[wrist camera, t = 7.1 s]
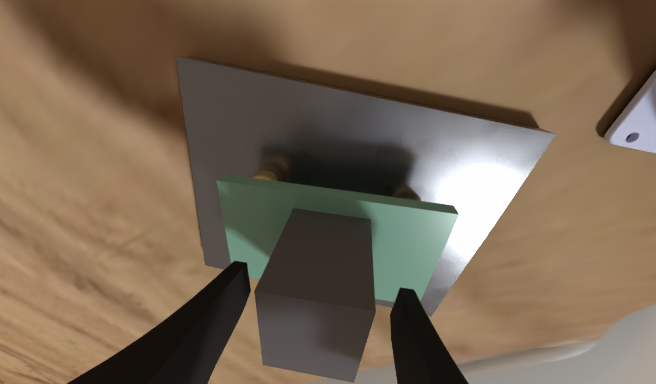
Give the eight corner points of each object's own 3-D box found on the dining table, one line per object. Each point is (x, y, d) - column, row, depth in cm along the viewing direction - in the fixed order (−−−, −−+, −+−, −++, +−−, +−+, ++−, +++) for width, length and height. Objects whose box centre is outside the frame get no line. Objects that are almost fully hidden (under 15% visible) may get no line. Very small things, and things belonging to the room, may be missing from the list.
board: (453, 205, 12) (522, 315, 7) (415, 294, 15) (442, 410, 10) (224, 174, 12) (132, 250, 7) (238, 265, 16) (182, 359, 11)
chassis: (540, 128, 13) (599, 150, 10) (427, 303, 21) (439, 347, 18) (190, 56, 13) (135, 55, 10) (212, 255, 21) (186, 289, 18)
